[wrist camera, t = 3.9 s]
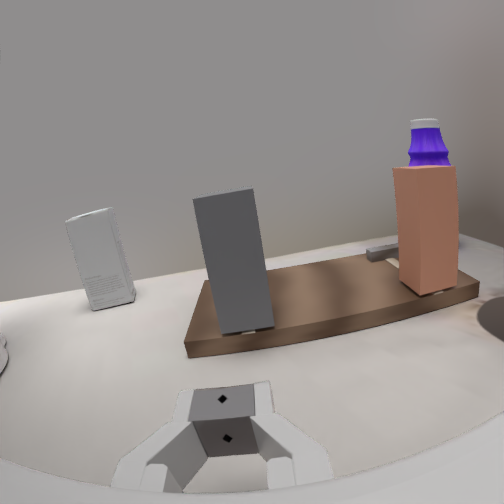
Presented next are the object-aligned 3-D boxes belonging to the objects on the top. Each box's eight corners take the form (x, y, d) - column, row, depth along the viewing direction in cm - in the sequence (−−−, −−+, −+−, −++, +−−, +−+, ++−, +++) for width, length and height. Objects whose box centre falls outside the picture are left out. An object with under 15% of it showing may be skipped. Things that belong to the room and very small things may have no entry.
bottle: (456, 241, 38) (447, 120, 34) (458, 253, 34) (448, 116, 29) (411, 241, 42) (400, 123, 38) (407, 252, 38) (394, 119, 34)
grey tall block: (221, 334, 23) (192, 199, 20) (224, 311, 27) (200, 194, 24) (274, 326, 23) (252, 188, 20) (270, 304, 26) (251, 185, 24)
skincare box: (136, 291, 41) (115, 205, 38) (134, 303, 37) (109, 207, 34) (96, 301, 39) (73, 216, 36) (90, 313, 35) (63, 220, 32)
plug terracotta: (419, 295, 22) (415, 168, 20) (399, 279, 26) (392, 168, 24) (456, 285, 22) (455, 166, 20) (433, 271, 26) (429, 165, 24)
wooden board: (188, 358, 23) (179, 328, 23) (207, 292, 37) (202, 270, 36) (478, 296, 23) (480, 269, 22) (411, 256, 36) (411, 235, 36)
